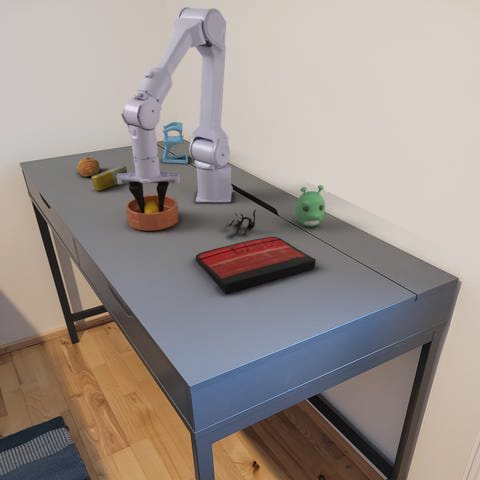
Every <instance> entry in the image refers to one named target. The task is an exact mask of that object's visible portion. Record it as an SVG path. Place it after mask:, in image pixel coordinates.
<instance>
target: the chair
mask: <svg viewBox="0 0 480 480" xmlns="http://www.w3.org/2000/svg"><path fill="white" fill-rule="evenodd" d="M162 128H163V129H162V132H163V135H164V136H163V145H164V146H165V147H164V151H163V155H162V163H166V164H167V163H168V164H169V163H171V164H183V165H184V164H185V165H188V164H189V155H188V153H181V154H175V155H169V154H170V151H171V149H172V147H174V146H177V145H184V144H185V137H184V135H183V123H182V122H180V121H171V122H170V123H168V124H166V125H163V126H162ZM172 131H175V132H178V135H173V136H172V135H169V134H168V132H172ZM182 158H185V159H182Z"/></svg>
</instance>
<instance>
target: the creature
mask: <svg viewBox="0 0 480 480" xmlns="http://www.w3.org/2000/svg"><path fill="white" fill-rule="evenodd" d="M256 211H257V209H256V208H255V209H254V210H253V213H252V217H253V220H252V218H250V217H248V216H244V215H243V214H242V213H239V215H240V216H241V217H240V216H238V214H235V216H236V220H234V219H233V220H232V221H231V222H230V223H228V224H226V225H225V226H224V228H223V229H224V230H226V228H227V227H229V228H231V227H232V225H233V224H234V223H235V225H234V227H236V228H237V231H236V232H235V233H234V234H232V235H230V238H233V237H234V236H236V235H238V234H239V231H240V229H241V228H242V229H245V230H244V233H242V235H243V236H246V233H247V231H249V232H250V231H251V230H253V229H254V228H255V226H256ZM238 218H239V219H240V220H239V219H238ZM245 220H248V224H247V226H246V227H244V226H243V227H242V225H243V223H244V221H245Z"/></svg>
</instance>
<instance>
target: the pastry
mask: <svg viewBox="0 0 480 480" xmlns="http://www.w3.org/2000/svg"><path fill="white" fill-rule="evenodd" d="M76 167H77V171H78V173H79V174H80V176H82V177H85V178H86V177H92V176H95V175H97V174H100V169H101V167H100V162H99V161H98V160H97V159H94V158H93V157H91V156H90V157H88V156H87V157H84V158H82V159H81V158H80V160H79V162H78V165H77V166H76Z"/></svg>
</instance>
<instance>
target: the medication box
mask: <svg viewBox="0 0 480 480" xmlns="http://www.w3.org/2000/svg"><path fill="white" fill-rule="evenodd" d="M120 173H128V170H127V166H126V165H118V166H116V167H113V168H111V169H107V170H105V171H102V172H99V173H97V174H96V175H92V176H91V181H92V185H93V190H94V191H103V190H106V189H108V188H111V187H113V186H116V185H119V184H118V182H117V175H118V174H120Z"/></svg>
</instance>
